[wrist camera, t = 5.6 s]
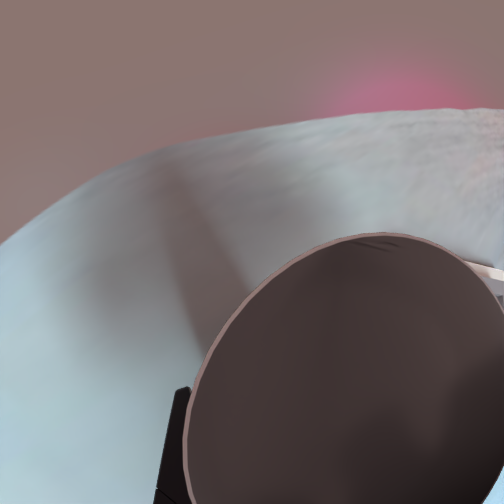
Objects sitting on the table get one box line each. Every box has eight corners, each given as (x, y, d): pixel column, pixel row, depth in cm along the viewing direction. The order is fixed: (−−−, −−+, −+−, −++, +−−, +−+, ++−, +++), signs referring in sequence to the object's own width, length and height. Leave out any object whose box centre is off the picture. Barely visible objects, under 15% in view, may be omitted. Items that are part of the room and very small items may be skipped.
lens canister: (328, 360, 16) (538, 318, 4) (284, 449, 14) (434, 583, 2) (237, 315, 16) (305, 166, 4) (188, 407, 14) (110, 526, 2)
